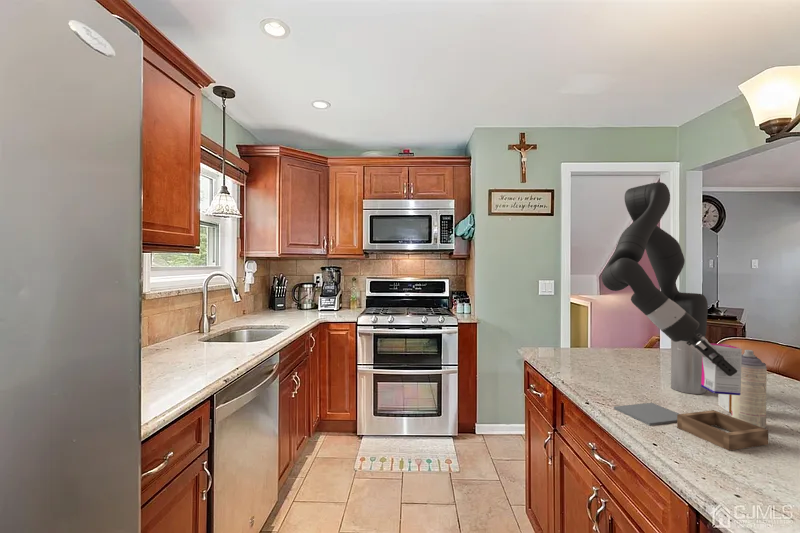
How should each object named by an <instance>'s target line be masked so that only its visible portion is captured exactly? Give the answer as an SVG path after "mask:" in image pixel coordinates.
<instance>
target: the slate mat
mask: <svg viewBox="0 0 800 533" xmlns="http://www.w3.org/2000/svg"><path fill="white" fill-rule="evenodd" d="M613 409H614V410H616V411H618V412H620V413H623V414H624V415H626V416H629V417H630V418H633V419H635V420H637V421H640V422H642V423H643V424H646V425H648V426H656V425H665V424H672V423H673V424H674V423H677V414H680V413H679V412H676V411H674V410H672V409H669V408H666V407H664V406H661V405H659V404H656V403H654V402H645V403H637V404H636V403H635V404H627V405H625V404H624V405H617V406H613Z"/></svg>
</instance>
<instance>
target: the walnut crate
mask: <svg viewBox="0 0 800 533" xmlns="http://www.w3.org/2000/svg"><path fill="white" fill-rule="evenodd" d="M715 426H716V427H715ZM676 427H677V428H676V429H678V430H682V431H684V432H685V433H688V434H691V435H692V436H695V437H698V438H700V439H702V440H704V441H706V442H709V443H711V444H712V445H715V446H718V447H720V448H722V449H724V450H727V451H736V450H744V449H748V448H753V447H754V448H755V447H761V446H767V445H769V429H767V428H766V429H765V428H762V427H759V426H756V425H753V424H751V423H748V422H745V421H742V420H739V419H737V418H734V417H731V415H729V414H725V413H722V412H720V411H717V410H712V409H711V410H705V411H697V412H696V411H695V412H686V413H679V414H677V422H676ZM717 427H718V428H717ZM721 429H722V430H721ZM726 431H727V432H726Z"/></svg>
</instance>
